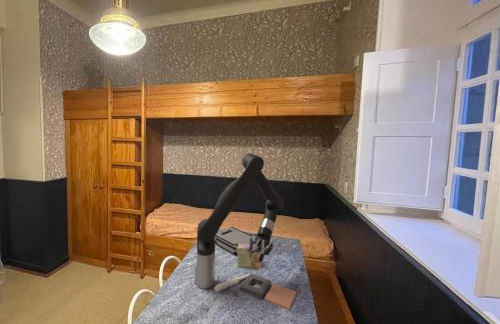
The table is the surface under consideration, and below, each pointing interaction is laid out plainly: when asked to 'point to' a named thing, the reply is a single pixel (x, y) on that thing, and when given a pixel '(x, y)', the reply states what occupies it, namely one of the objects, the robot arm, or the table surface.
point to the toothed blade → (229, 283)
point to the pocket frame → (255, 291)
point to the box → (244, 255)
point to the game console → (232, 239)
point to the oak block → (255, 261)
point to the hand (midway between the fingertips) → (255, 260)
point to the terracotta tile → (280, 296)
